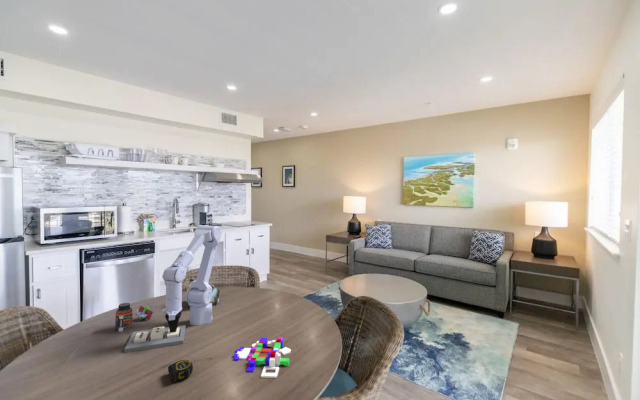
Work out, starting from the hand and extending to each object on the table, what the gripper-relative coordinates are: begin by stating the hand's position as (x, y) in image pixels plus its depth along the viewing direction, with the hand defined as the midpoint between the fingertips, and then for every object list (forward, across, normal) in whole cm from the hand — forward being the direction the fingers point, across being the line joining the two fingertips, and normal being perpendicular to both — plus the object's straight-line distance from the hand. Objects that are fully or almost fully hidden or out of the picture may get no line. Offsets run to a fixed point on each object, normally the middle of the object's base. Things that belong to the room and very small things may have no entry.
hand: (173, 331), depth 117 cm
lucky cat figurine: (+4, -38, +11) cm, 40 cm away
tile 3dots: (+4, 0, -11) cm, 12 cm away
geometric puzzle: (+4, -25, -14) cm, 29 cm away
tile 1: (+2, 0, -6) cm, 6 cm away
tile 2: (+3, 0, 0) cm, 4 cm away
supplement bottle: (+4, -15, -20) cm, 25 cm away
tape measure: (+4, +27, +4) cm, 27 cm away
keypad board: (+3, 0, -6) cm, 7 cm away
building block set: (+4, +23, +31) cm, 39 cm away
